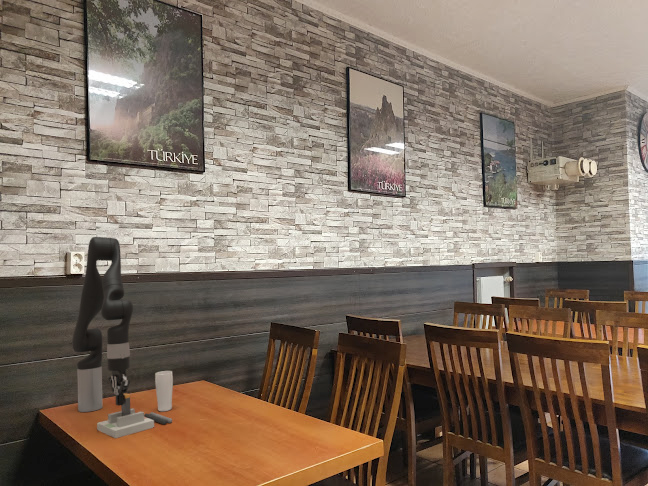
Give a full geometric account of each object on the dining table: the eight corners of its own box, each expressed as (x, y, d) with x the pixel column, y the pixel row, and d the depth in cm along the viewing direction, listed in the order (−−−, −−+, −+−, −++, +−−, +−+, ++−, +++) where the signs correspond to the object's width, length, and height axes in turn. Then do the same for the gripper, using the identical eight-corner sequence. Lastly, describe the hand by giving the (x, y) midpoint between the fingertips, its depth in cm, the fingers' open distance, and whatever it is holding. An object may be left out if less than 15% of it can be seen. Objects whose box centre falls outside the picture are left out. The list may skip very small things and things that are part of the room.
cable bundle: (143, 418, 189) (143, 413, 189) (152, 415, 191) (152, 411, 191) (163, 425, 178) (163, 420, 178) (173, 422, 181) (172, 418, 181)
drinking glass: (168, 412, 195) (167, 374, 196) (152, 412, 196) (151, 374, 197) (176, 407, 201) (175, 370, 202) (161, 407, 203) (160, 370, 204)
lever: (120, 418, 177) (119, 394, 178) (125, 417, 178) (124, 392, 179) (126, 421, 174) (126, 395, 174) (131, 419, 175) (131, 394, 176)
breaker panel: (97, 429, 176) (96, 414, 177) (134, 420, 186) (134, 405, 187) (115, 438, 166) (115, 421, 166) (154, 427, 176) (153, 411, 176)
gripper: (100, 355, 178) (101, 404, 177) (115, 359, 169) (117, 410, 168) (120, 352, 183) (121, 399, 182) (137, 355, 174) (138, 405, 173)
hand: (119, 404), depth 175 cm, fingers closed
